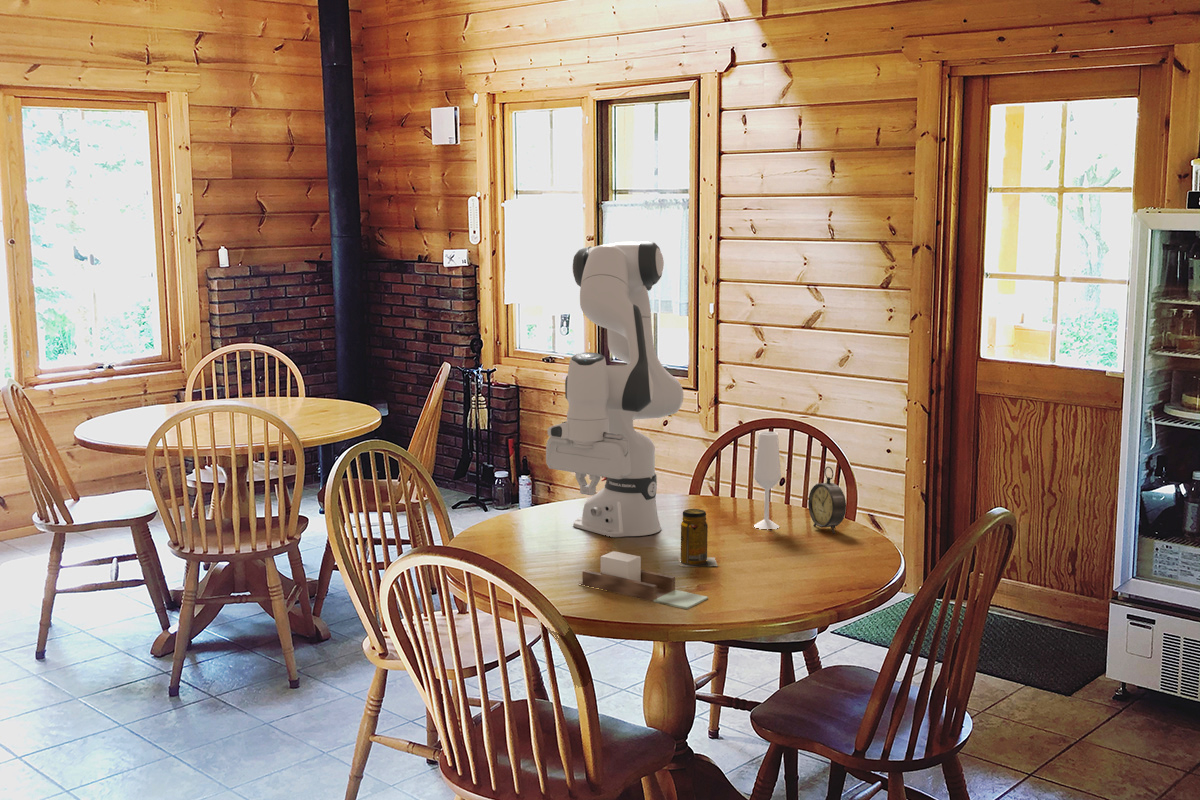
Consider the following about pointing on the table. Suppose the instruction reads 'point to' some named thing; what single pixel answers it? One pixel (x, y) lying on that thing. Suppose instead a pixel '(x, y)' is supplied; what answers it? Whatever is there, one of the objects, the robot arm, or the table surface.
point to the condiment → (694, 540)
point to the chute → (644, 588)
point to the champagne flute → (767, 471)
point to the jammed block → (621, 565)
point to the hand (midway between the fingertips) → (587, 494)
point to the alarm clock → (827, 504)
